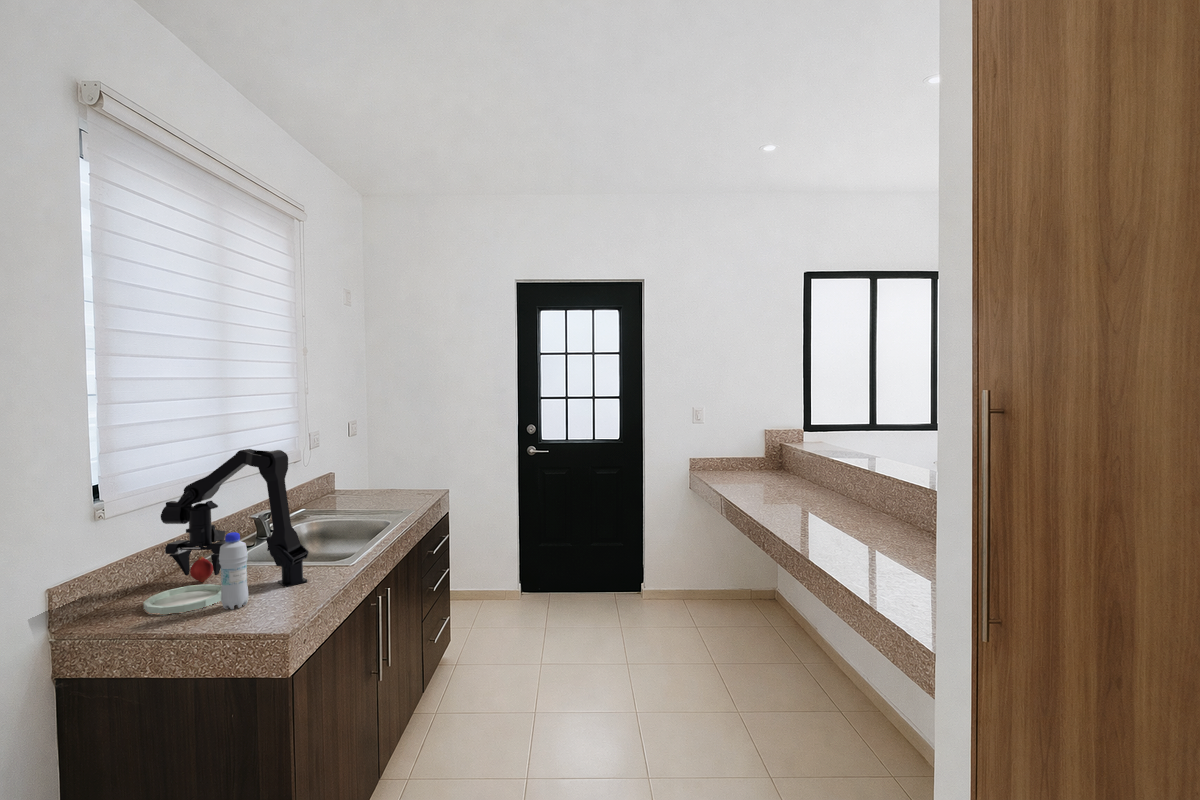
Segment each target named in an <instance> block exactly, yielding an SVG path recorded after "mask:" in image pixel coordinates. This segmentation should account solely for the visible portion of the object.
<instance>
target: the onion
mask: <svg viewBox="0 0 1200 800" xmlns="http://www.w3.org/2000/svg"><path fill="white" fill-rule="evenodd" d="M213 573H214V570H213V564H212V561H209V559H207V558H205V557H204V556H202V555H201V556H198V557H197V559H196V561H195V562H193V564H192V565H191V567H190V571H189V575H190V576H191V578H192V579H194V580H196V581H197V582H199V583H204V582H205V581H206V580H208V579H209V578H210V577H211V575H212V574H213Z"/></svg>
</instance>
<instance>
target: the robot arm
mask: <svg viewBox="0 0 1200 800" xmlns="http://www.w3.org/2000/svg"><path fill="white" fill-rule="evenodd" d="M246 466H249V467H254V468H258V470H259V474H260V475H261V477H262V479H264V481H265V482H266V489H267V494H268V502H269V507H270V508H269V509H270V516H271V524H272V533H271V535H269V536H266V538H265V540H266V544H267V548H266V550H267V552H269V554H270V557H272V558H273V561H274V563H275V566H276V567H281V568H280V569H281V579H280V580H277V583H278V584H279V585H281V586H283V587H286V588H287V587H291V586H294V585H295V586H296V585H299V584H303V583H307V582H308V581H309V579H307V578H305V577H304V566H303V565H304V564H303V560H305V559H307V558H308V555H309V553H310V552H309V550H308V549H307V548H306V547H305V546H304V545H302V544H301V542H300V538H299V535H298V532H297V531H296V530H295V528H293V526H292V521H291V516H290V515H291V514H290V508H289V501H288V500H289V499H288V494H287V485H286V476H287V473H288V471H289V457H288V454H287V453H286V452H285V451H284V450H281V449H276V450H258V449H252V448H246V449H240V450H238V451H237V452H235V454H234V455H233V456H232V457H230V458H229V459H228V460H226V461H225V462H223V464H221V465H220V466H218V467H217V468H216V469H215V470H214V471H212V472H211V473H209V474H208V475H207V476H205V477H204V476H203V477H202V478H200V479H197V480H196V481H193V482H192V483H190V484H187V485H186V486H185V487H184V488H183V493H182V495H181V497H180V498H179V499H178V500H177V501H175V500H170V501H166V502H165V506H164V507H163V509H162V510H161V514H160V520H161V522H162V523H163V524H165V525H176V524H177V525H186V524H188V528H186V529H185V533H187V534H188V537H189V538H188V539H180V540H175V541H173V542H169V543H167V544H166V545H165V547H164V554H165V555H169V557H170V558H173V560H174V561H175V563H176V564H177V565H178V566H179V568H180V569H181V570H182V572H183V574H184V575H185V576H190V569H191V567H190V555H191V553H192V551H211V553H212V554H210V557H211V563H212V565H213V574H214V575H215V576H218V575H219V574H220V572H221V565H220V564H219V562H220V561H219V553H220V547H221V546H222V545H223V544H225V543H227V542H225V536H226V531H225V530H222V529H216V525H215V524H212V510H214V509H217V508H219V505H218V504H217V503H215V502H214V501H213V500H210V499H211V498H213V497H214V495H216V493H217V492H218V491H219V490H220V488H221V485H223V483H225V482H227V480H229V479H230V478H232V477H233V476H234V475H235V474H237V473H238V472H240V470H242V469H244V468H245V467H246ZM203 501H206V502H203Z"/></svg>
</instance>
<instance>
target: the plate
mask: <svg viewBox="0 0 1200 800" xmlns="http://www.w3.org/2000/svg"><path fill="white" fill-rule="evenodd" d="M221 589H222V584H210V583H205V584H204V583H203V584H195V585H192V584H191V585H185V586H181V587H176V588H172V589H167V590H164V591H161V592H159V593H156V594H153V595H152V596H151V595H150V596H149V597H148V598H147V599H145V601H143V610H144V609H145V610H146V611H147V612H149V613H160V614H169V613H179V612H186V611H190V610H194V609H199V608H203V607H206V606H209V605H211V606H213V605H212V604H214V603H216V604H218V603H220V602H219V601H221ZM217 602H218V603H217ZM214 605H215V604H214ZM209 607H210V606H209ZM203 609H204V608H203ZM145 610H144V611H145ZM199 610H200V609H199ZM146 611H145V612H146ZM147 612H146V613H147Z"/></svg>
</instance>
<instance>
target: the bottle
mask: <svg viewBox="0 0 1200 800" xmlns="http://www.w3.org/2000/svg"><path fill="white" fill-rule="evenodd" d="M224 540H225V542H227V543H225V544H223V545H222V546H221V547H220V553H219V561H220V562H219V564H220V565H221V569H220V579H221V580H220V581H221V584H220V585H221V586H222V589H221V605H222V607H223V609H225V610H228V609H230V610H234V609H235V606H237V608H238V609H241V608H242V607H243V606H242V605H245V606H246V605H247V603H248V601H249V588H248V572H247V571H248V569H247V561H248V560H249V559H248V555H249V554H248V550H247V549H248V548H247V543H246V542H244V541H241V535H240V533H238V532H233V531H232V532H229V533H228V532H227V534H225V537H224ZM240 607H241V608H240ZM227 608H228V609H227Z"/></svg>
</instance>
